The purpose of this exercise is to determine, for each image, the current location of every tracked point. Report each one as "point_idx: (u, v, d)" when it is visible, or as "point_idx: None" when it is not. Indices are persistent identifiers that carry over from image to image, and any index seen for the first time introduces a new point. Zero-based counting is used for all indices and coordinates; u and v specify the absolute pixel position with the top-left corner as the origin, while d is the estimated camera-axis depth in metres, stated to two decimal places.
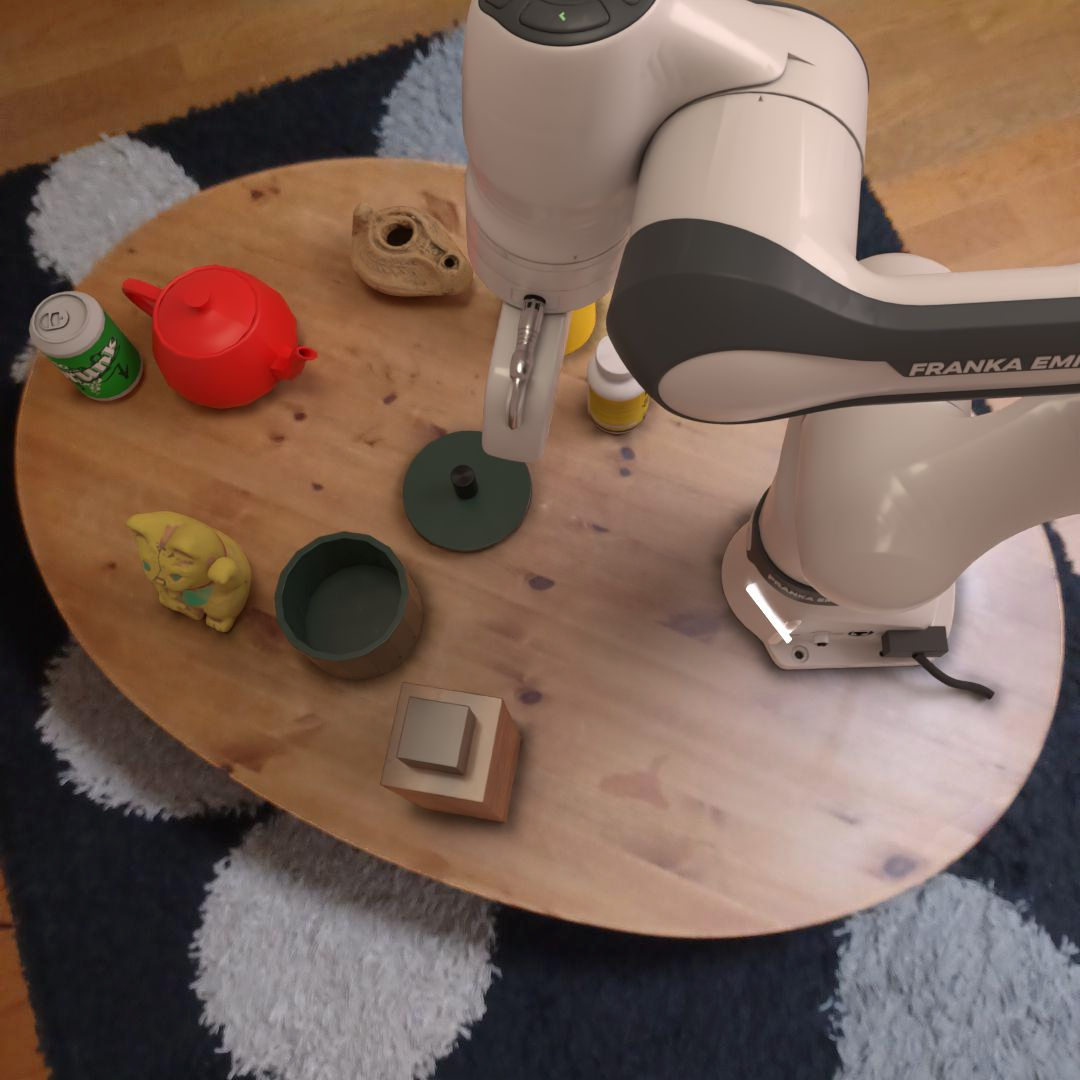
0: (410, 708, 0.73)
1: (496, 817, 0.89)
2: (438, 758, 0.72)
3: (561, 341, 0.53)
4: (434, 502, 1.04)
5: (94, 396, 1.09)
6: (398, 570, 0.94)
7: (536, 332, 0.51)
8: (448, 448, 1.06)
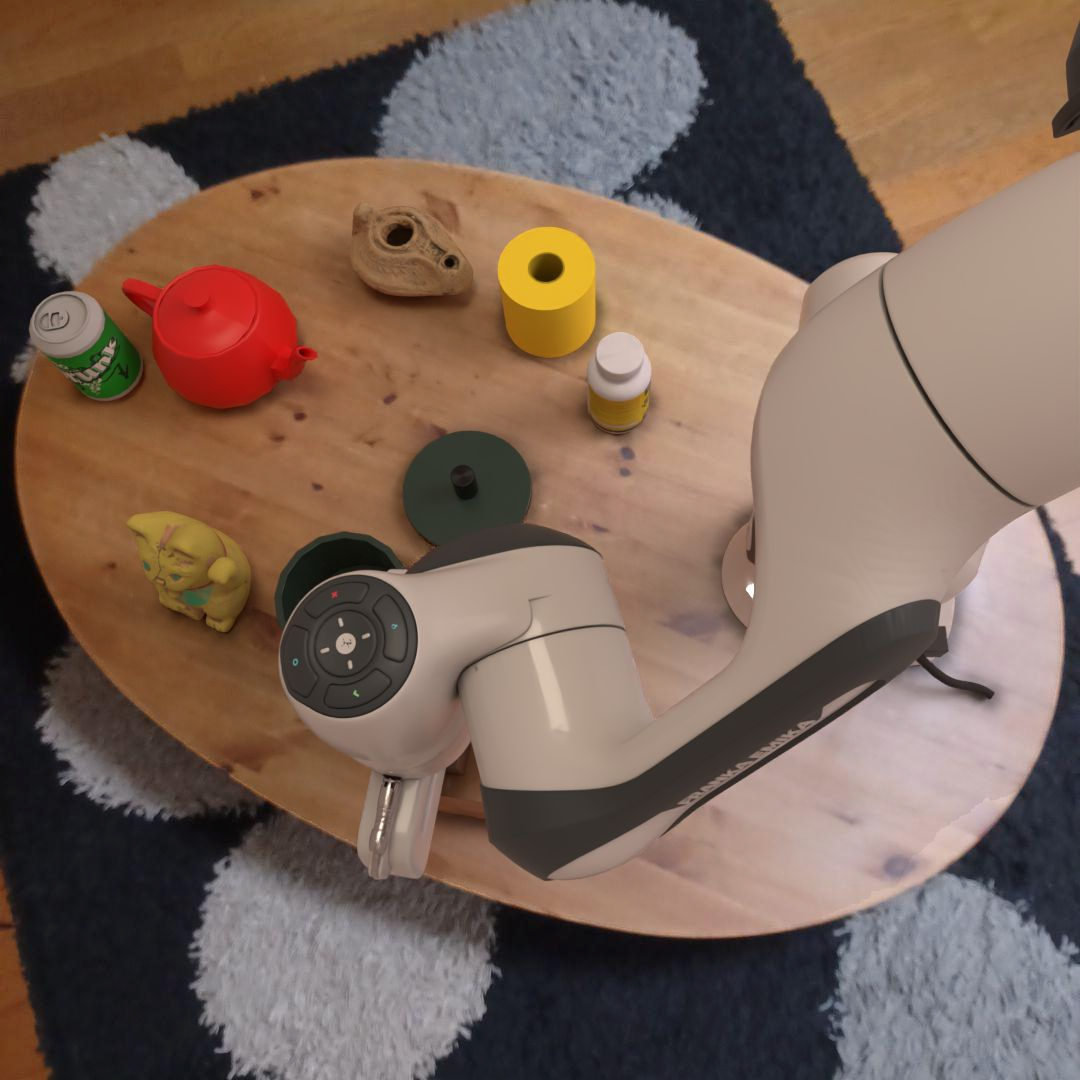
0: None
1: None
2: None
3: (420, 802, 0.62)
4: (434, 502, 1.04)
5: (94, 396, 1.09)
6: None
7: (391, 809, 0.61)
8: (448, 448, 1.06)
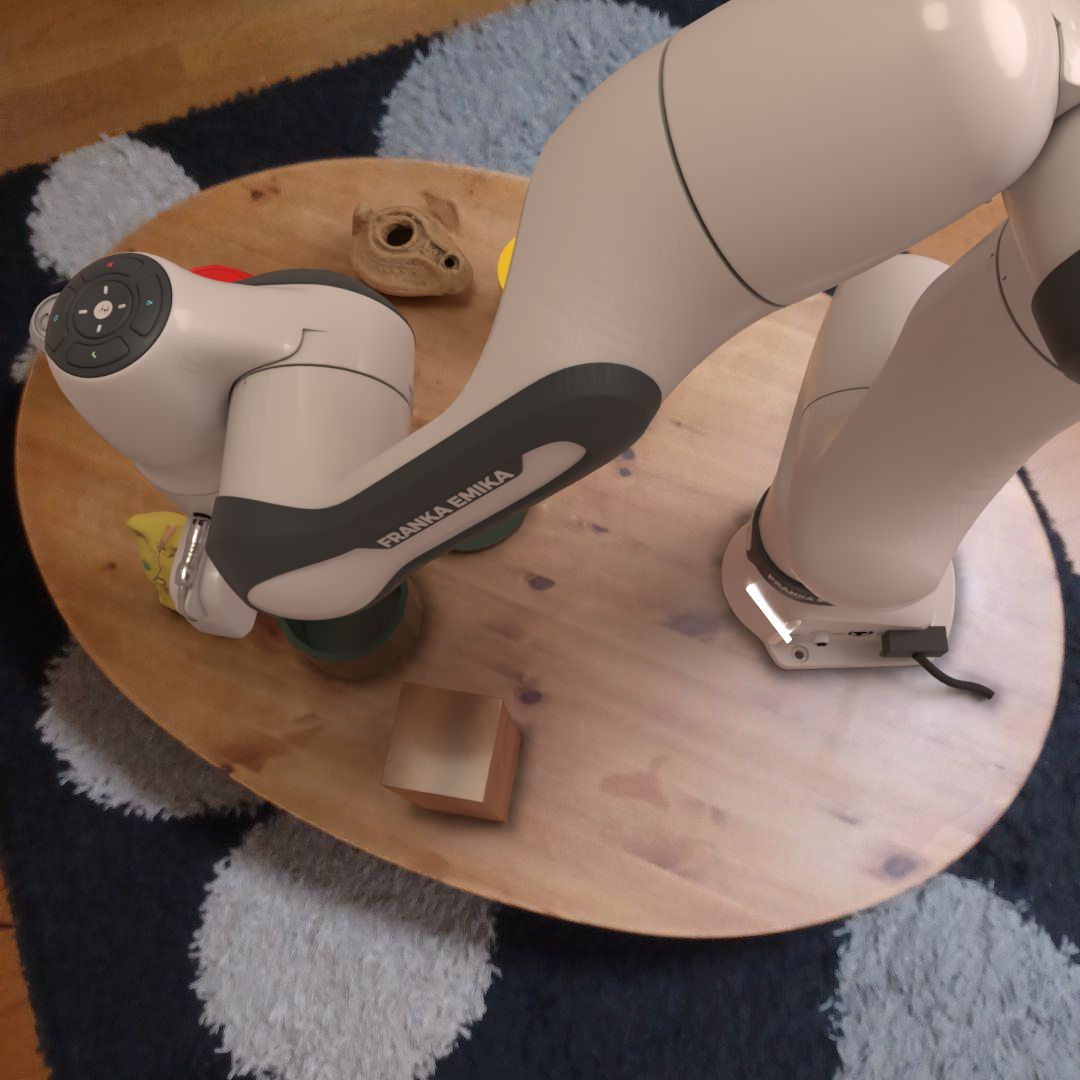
0: None
1: (496, 817, 0.89)
2: None
3: None
4: None
5: None
6: None
7: (199, 545, 0.61)
8: None
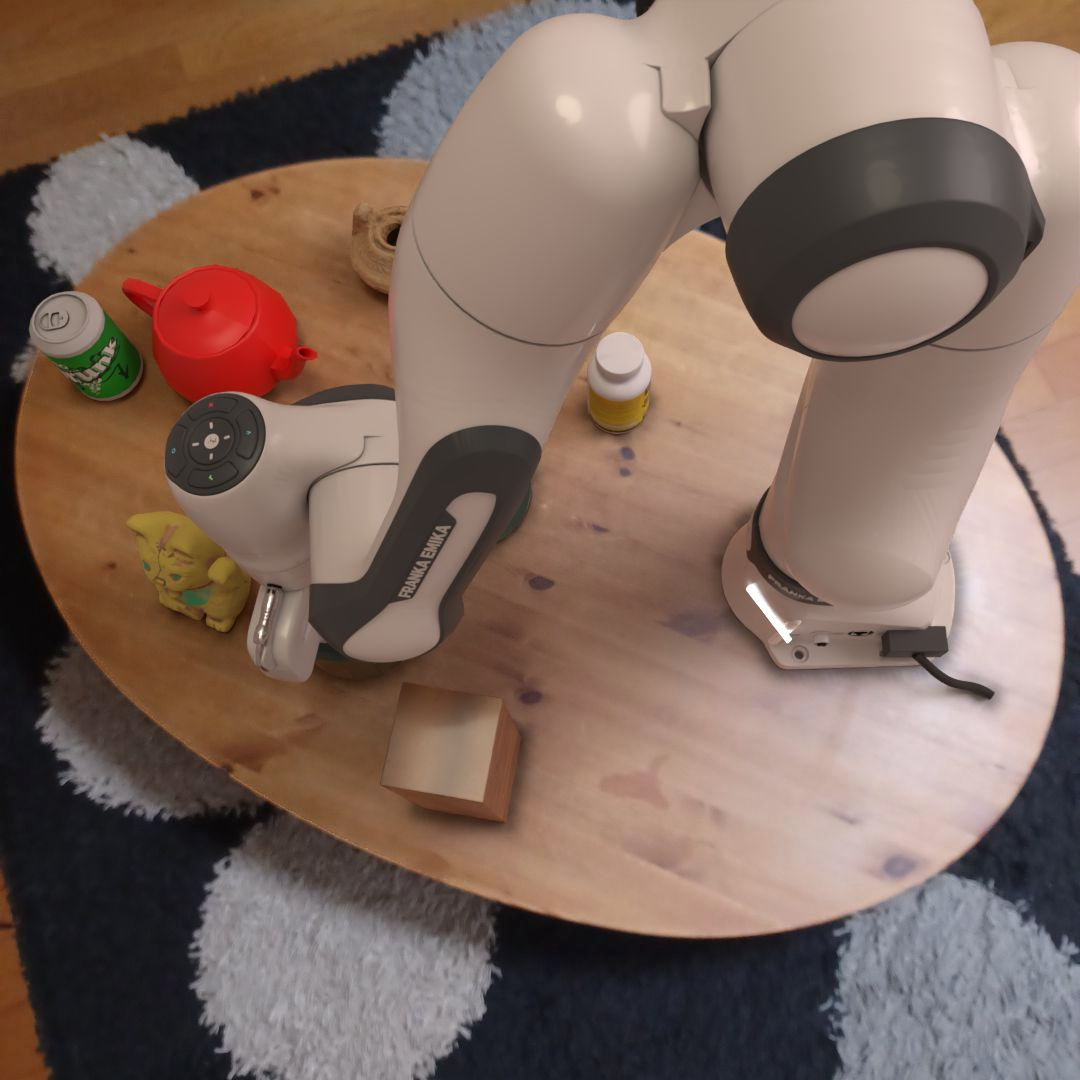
0: None
1: (496, 817, 0.89)
2: None
3: (298, 609, 0.77)
4: None
5: (94, 396, 1.09)
6: None
7: (272, 610, 0.75)
8: None
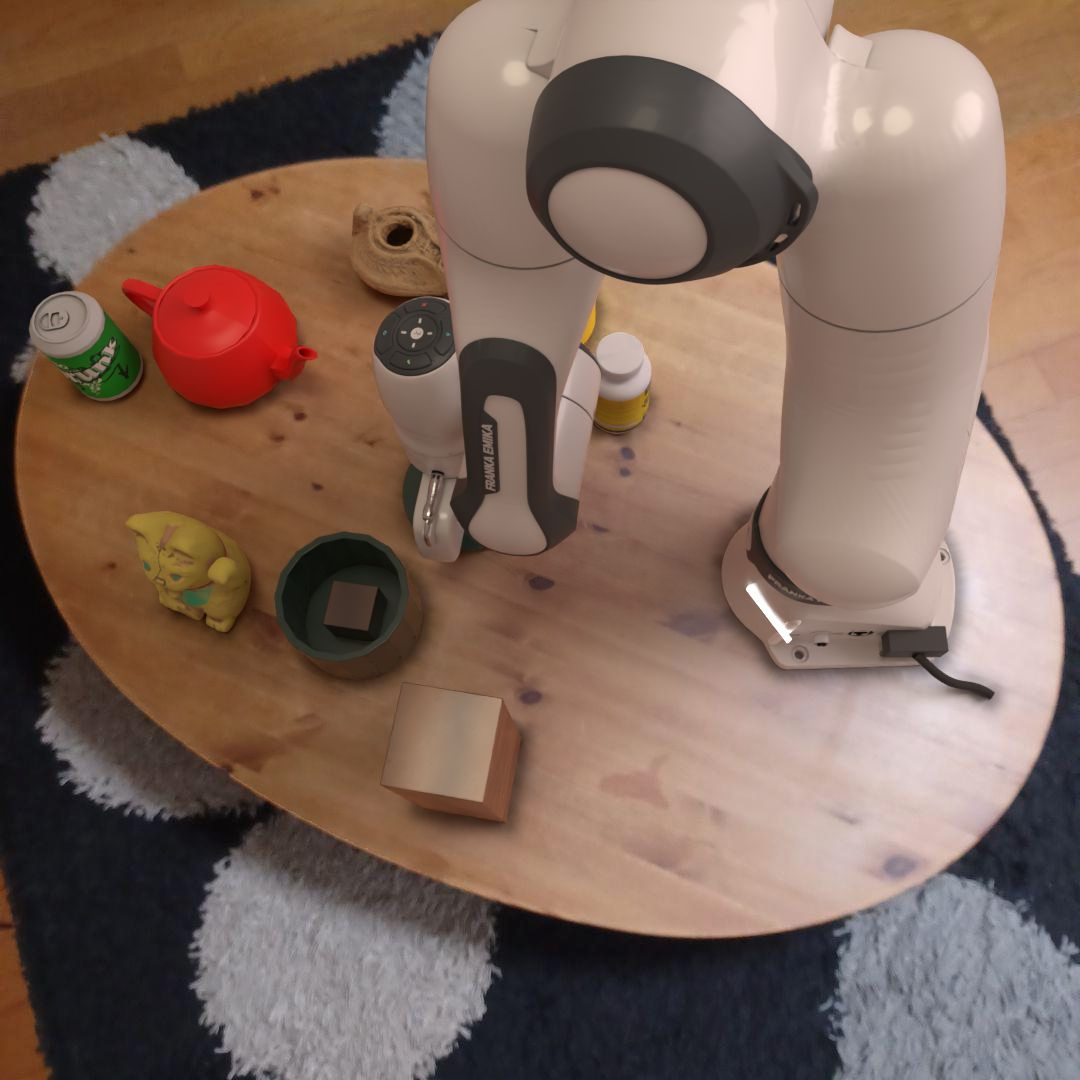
0: (334, 588, 0.97)
1: (496, 817, 0.89)
2: (354, 624, 0.96)
3: None
4: None
5: (94, 396, 1.09)
6: (398, 570, 0.94)
7: (437, 492, 0.89)
8: None
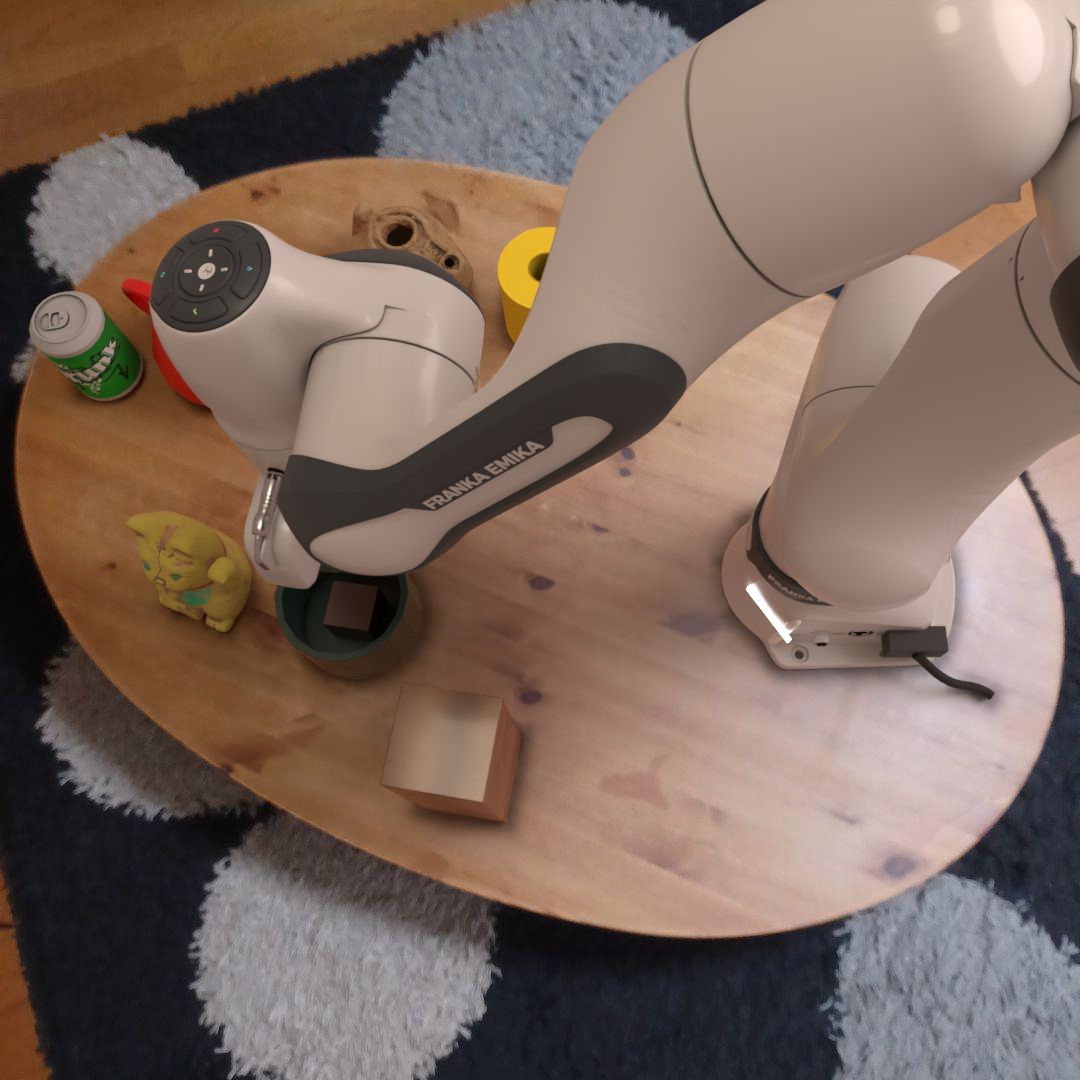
0: (334, 588, 0.97)
1: (496, 817, 0.89)
2: (354, 624, 0.96)
3: None
4: None
5: (94, 396, 1.09)
6: None
7: (273, 497, 0.66)
8: None
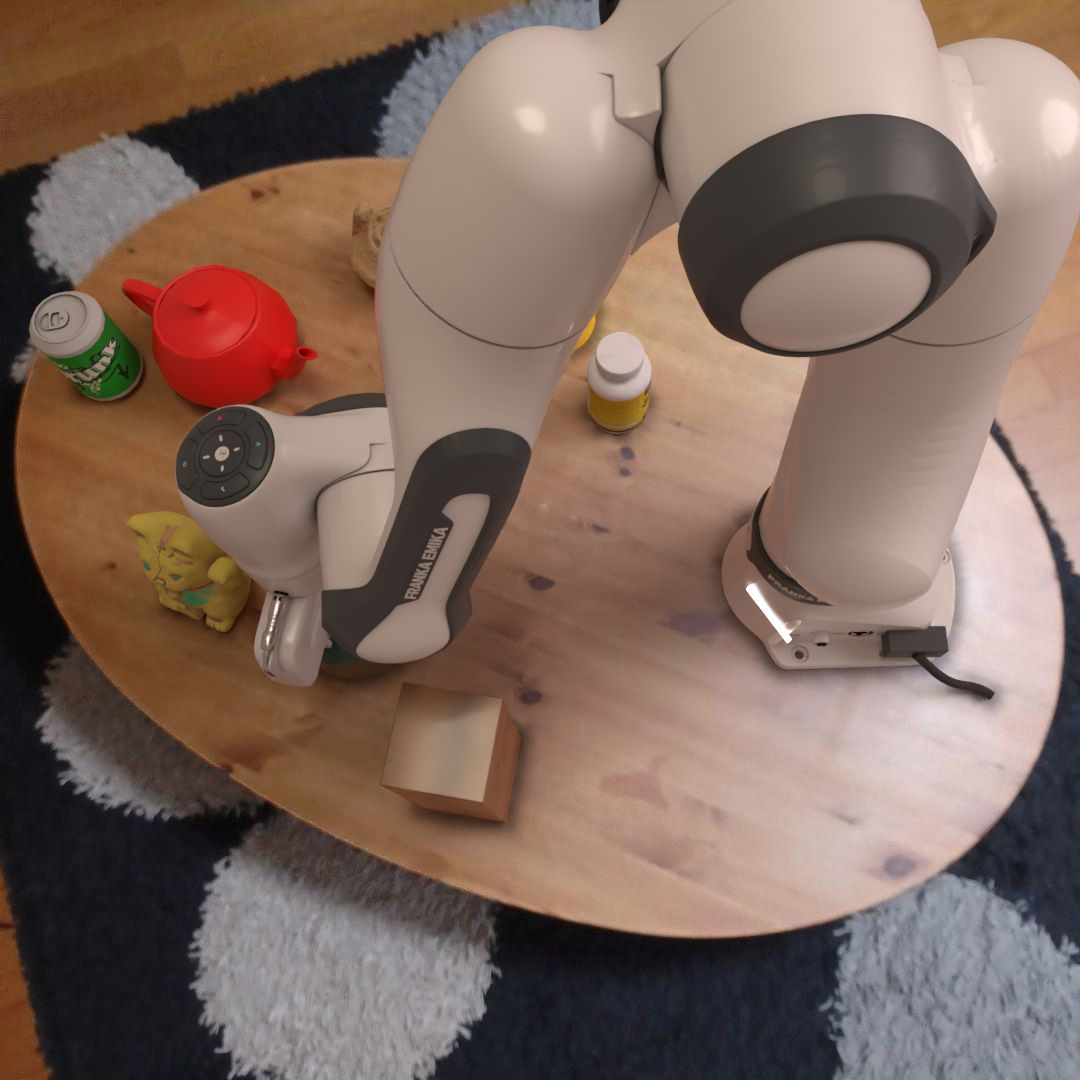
0: None
1: (496, 817, 0.89)
2: None
3: (304, 615, 0.79)
4: None
5: (94, 396, 1.09)
6: None
7: (279, 616, 0.77)
8: None
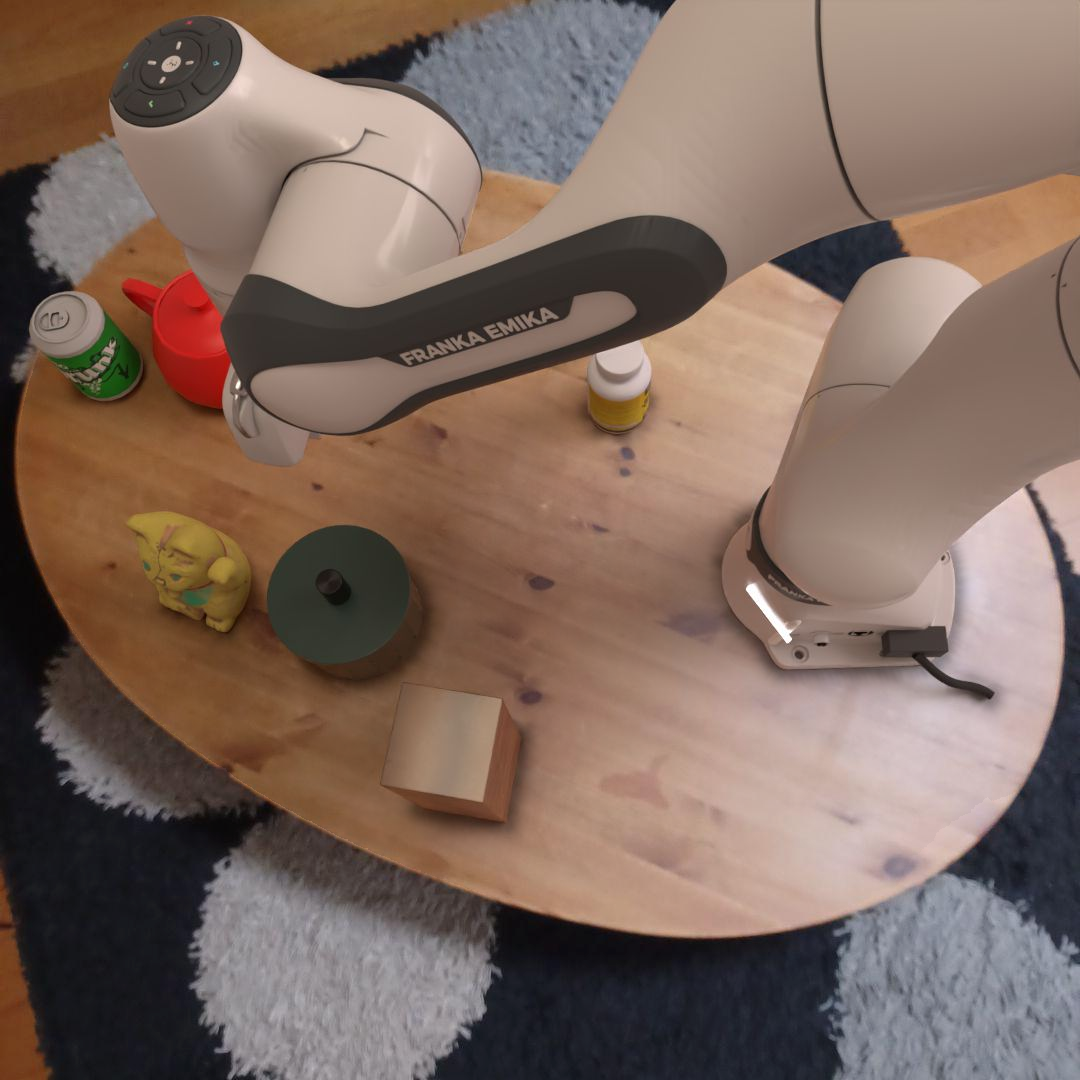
0: None
1: (496, 817, 0.89)
2: None
3: None
4: (301, 608, 0.92)
5: (94, 396, 1.09)
6: None
7: None
8: (320, 545, 0.94)
